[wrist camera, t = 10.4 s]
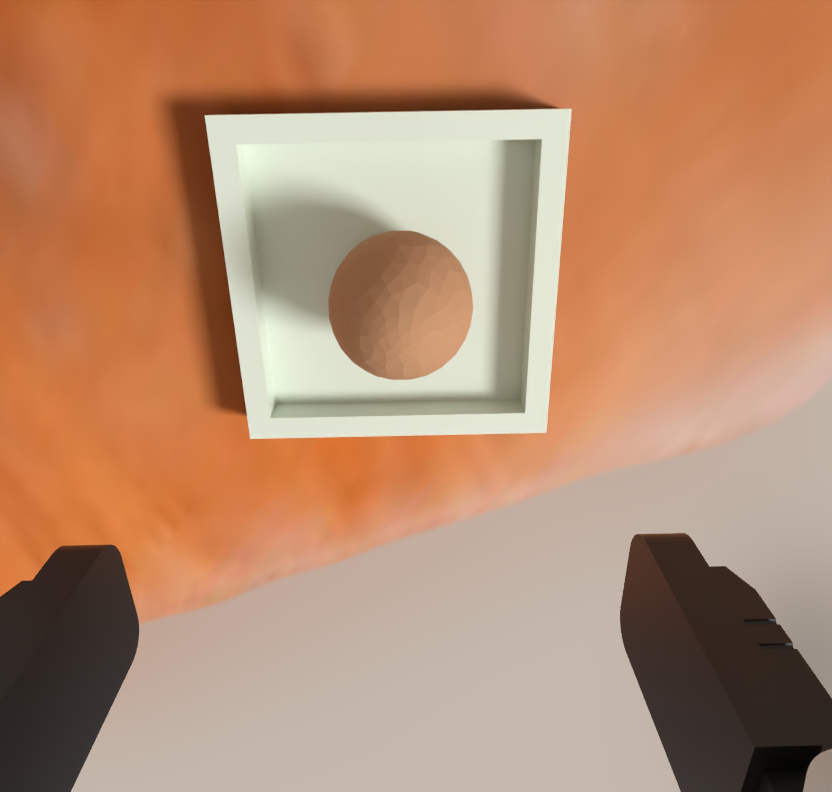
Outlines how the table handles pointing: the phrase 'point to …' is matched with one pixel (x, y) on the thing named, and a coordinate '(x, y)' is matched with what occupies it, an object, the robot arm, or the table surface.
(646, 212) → the table surface
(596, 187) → the table surface
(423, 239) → the egg
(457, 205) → the dish
